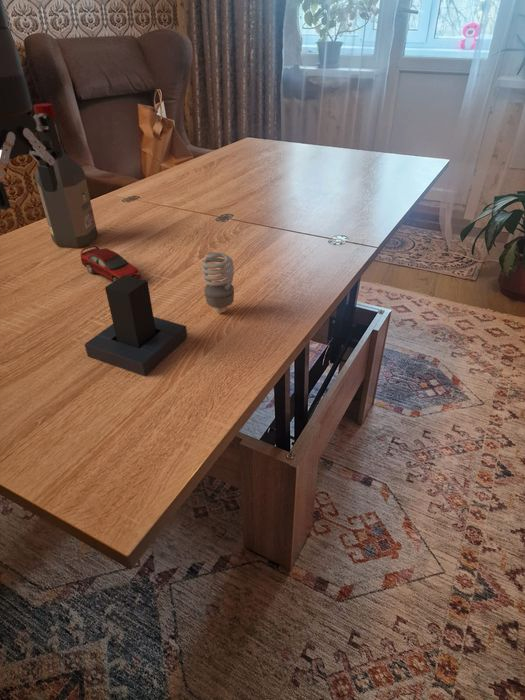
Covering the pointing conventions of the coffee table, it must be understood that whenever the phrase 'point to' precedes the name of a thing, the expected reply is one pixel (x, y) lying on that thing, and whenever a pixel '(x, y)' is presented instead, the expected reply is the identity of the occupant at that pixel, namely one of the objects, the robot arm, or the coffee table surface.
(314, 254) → the coffee table surface
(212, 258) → the light bulb
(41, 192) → the liquor
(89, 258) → the toy car
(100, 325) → the coffee table surface
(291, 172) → the coffee table surface
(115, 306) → the post
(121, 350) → the base pad
